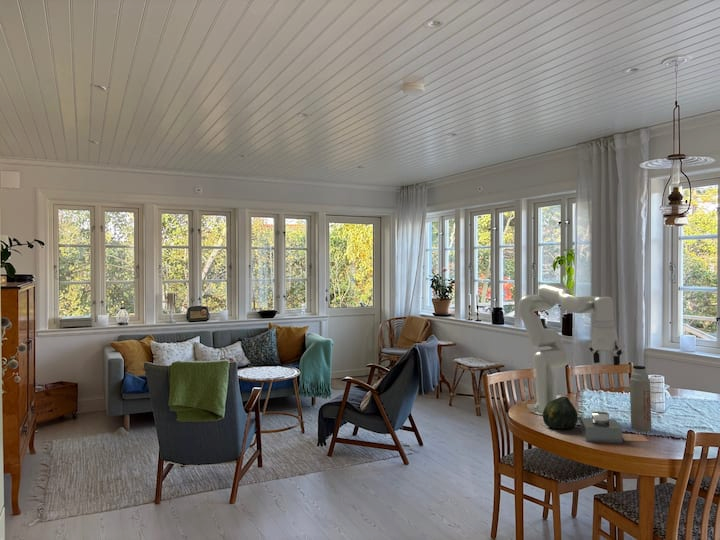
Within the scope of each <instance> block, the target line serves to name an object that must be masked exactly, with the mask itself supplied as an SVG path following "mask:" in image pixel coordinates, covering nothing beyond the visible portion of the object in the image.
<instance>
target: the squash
mask: <svg viewBox="0 0 720 540" xmlns="http://www.w3.org/2000/svg"><path fill="white" fill-rule="evenodd" d="M542 418H543V419H542V420H543V423H544V424H545V426H547V427H548V428H550V427H552V429H558V428H559V429H566V430H572V429H574V428H575V427H576V425H577V422H578V412H577V409H576V407H575V406H574V405H573V403H572V402H571V400H570V399H569V398H568V397H567V396H561V397H558V398H557V399H555V400H553V401H550V402H549V403H547V405H546V406H545V409H544V411H543V416H542Z"/></svg>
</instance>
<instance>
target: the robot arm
mask: <svg viewBox="0 0 720 540" xmlns="http://www.w3.org/2000/svg"><path fill="white" fill-rule="evenodd" d="M537 293H538V294H527V295H524V296H522V297H521V298H520V299H519V301H518V305H517V310H518V314H519V317H520V319H521V320H522V322H523V325H524V327H525V331H526V333H527V336H528V338H529V339H528V340H529V342H530V344H531V346H532V348H534V349H542V350H538V351H537V352H535V353H534V355H533V358H532V361H533V364H534V365H533V366H534V370H535V371H534V372H535V383H536V384H535V386H536V402H535V403H533V404H530V403H529V404H528V403H526V405H527V409H529V410H533V413H534V414H535V415H537V414H538V416H542V415H543V411H544V409H545V406H546V405H547V403H549V402H550V401H553V400H555V399H557V397H558V396H557V378H556V377H557V376H556V375H555V372H554V370H553V369H556V368H557V369H558V368H563V367H565V366H566V365H567V364H568V354H567V351H566V348H565V346H564V343H563V339H562V338H561V335H560V333H559V332H558V331H557V330H556V329H554V328H545V327H544V325H543V323H542V319H541V318H540V317H539V315H538V314H536V313H535V312H541V311H548V310H551V309H553V308H554V307H555V306H557V305H559V306H560V307H562V309H564V310H566V311H568V312H570V313H574V314H579V315H580V314H582V315H583V314H593V313H594V321H593V322H592V325H594V326H595V327H593V329H592V337H591V339H592V340H591V341H590V342H588V343H587V346H588V348H589V351H590V352H591V354H592V355H593V356H592V357H593V363H594V364H597V363H600V351H601V352H611V353H612V354H613V357H612V358H613V365H614V366H620V363H621V357H620V356H621V355H622V354H623V352H624V351H625V345H623V344H622V343H620V342H619V338H618V332H617V330H616V327H615V321H614V320H615V319H614V318H615V317H614V304H613V303H614V301H613V298H612V297H611V296H595V295H593V296H591V295H590V296H576V295H573V293H572V291H571V290H570V288H567V286H566V285H565V284H563V283H562V282H549V283H547V282H546V283H543V284H541V285H540V286H538V290H537ZM545 348H547V349H545Z"/></svg>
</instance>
